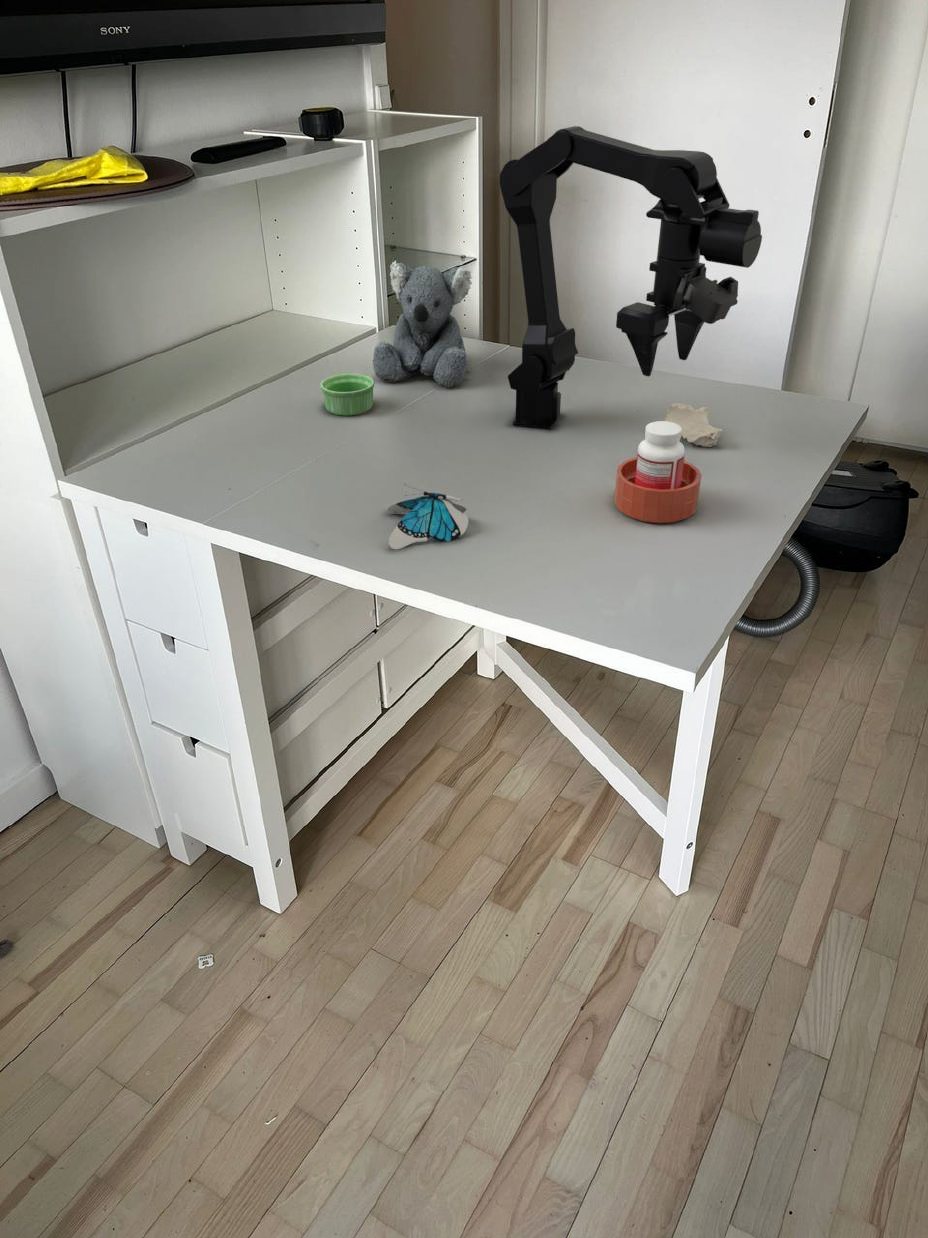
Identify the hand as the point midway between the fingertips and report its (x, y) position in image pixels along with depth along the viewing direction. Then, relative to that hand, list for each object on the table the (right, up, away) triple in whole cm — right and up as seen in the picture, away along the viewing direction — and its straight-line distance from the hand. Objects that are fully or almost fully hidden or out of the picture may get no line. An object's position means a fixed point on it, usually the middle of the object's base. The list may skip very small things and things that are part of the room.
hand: (665, 367), depth 139 cm
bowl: (-3, -21, -7) cm, 22 cm away
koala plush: (-36, +10, +40) cm, 54 cm away
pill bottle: (-3, -21, -7) cm, 22 cm away
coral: (+7, -8, +13) cm, 16 cm away
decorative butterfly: (-34, -25, -11) cm, 43 cm away
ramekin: (-49, -1, +25) cm, 55 cm away
